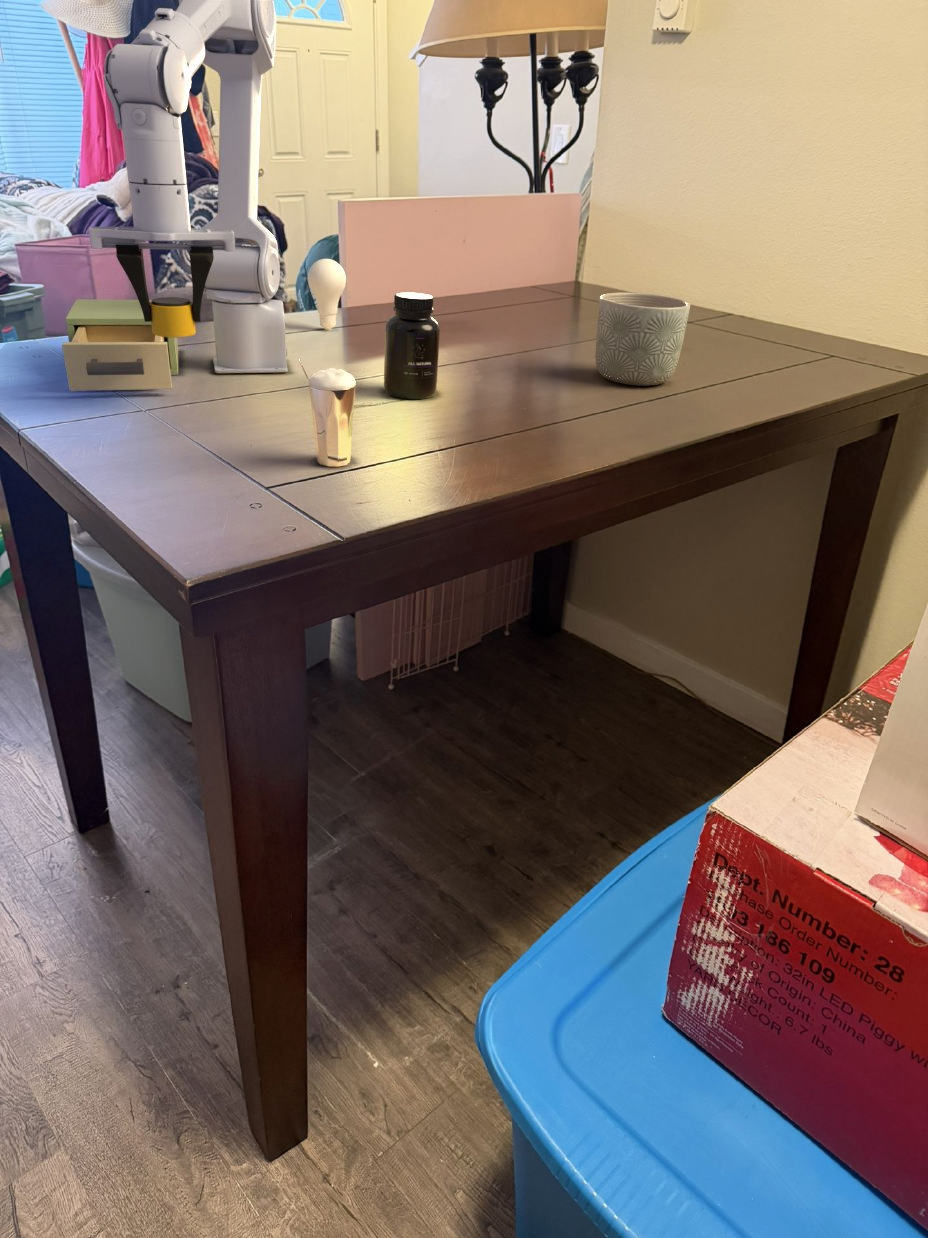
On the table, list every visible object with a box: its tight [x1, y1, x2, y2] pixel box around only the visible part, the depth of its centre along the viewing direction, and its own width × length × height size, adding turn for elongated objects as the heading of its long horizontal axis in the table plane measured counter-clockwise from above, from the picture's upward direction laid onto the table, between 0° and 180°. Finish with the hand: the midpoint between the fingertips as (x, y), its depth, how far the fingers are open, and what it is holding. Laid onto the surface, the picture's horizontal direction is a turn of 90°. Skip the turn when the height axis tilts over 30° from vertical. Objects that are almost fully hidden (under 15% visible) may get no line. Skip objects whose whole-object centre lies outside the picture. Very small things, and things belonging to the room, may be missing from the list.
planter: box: [595, 292, 691, 387], centre depth 123 cm, size 12×12×11 cm
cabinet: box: [64, 298, 179, 376], centre depth 116 cm, size 14×13×7 cm
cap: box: [149, 296, 197, 338], centre depth 96 cm, size 5×5×4 cm
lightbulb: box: [307, 258, 347, 331], centre depth 142 cm, size 6×6×11 cm
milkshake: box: [298, 359, 357, 468], centre depth 85 cm, size 4×5×10 cm
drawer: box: [61, 325, 173, 392], centre depth 105 cm, size 17×11×5 cm
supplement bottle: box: [383, 292, 441, 400], centre depth 109 cm, size 7×7×12 cm
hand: (172, 319), depth 96 cm, fingers closed on cap, 4 cm apart
